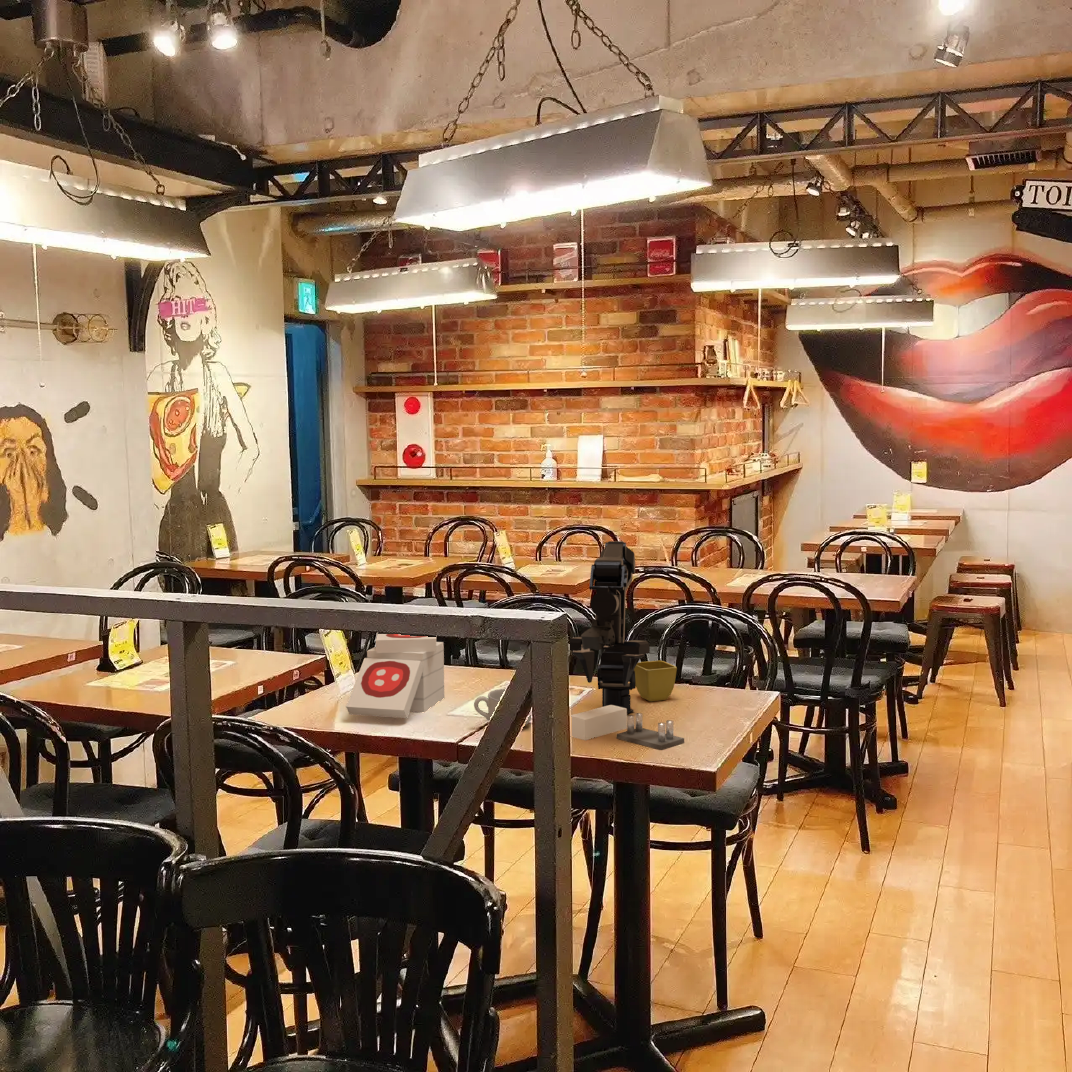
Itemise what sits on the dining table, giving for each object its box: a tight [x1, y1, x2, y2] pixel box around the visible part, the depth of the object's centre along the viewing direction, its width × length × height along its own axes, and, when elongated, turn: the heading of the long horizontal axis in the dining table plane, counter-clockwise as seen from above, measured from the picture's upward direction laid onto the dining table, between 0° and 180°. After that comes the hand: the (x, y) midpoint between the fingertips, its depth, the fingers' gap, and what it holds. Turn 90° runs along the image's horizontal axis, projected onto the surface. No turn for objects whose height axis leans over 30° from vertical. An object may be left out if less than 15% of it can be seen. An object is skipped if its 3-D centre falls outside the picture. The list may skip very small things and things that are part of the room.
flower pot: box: [634, 659, 678, 703], centre depth 290 cm, size 9×9×9 cm
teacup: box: [473, 687, 532, 725], centre depth 265 cm, size 14×11×8 cm
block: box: [570, 705, 628, 741], centre depth 259 cm, size 14×5×5 cm, turn 134°
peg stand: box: [616, 712, 685, 751], centre depth 252 cm, size 13×8×5 cm, turn 44°
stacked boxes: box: [345, 633, 445, 719], centre depth 281 cm, size 19×30×18 cm, turn 165°
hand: (607, 684), depth 255 cm, fingers open, 9 cm apart
